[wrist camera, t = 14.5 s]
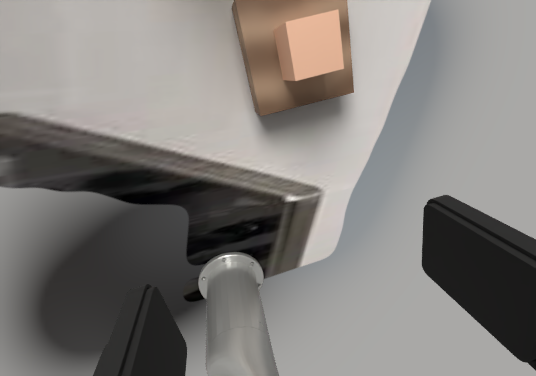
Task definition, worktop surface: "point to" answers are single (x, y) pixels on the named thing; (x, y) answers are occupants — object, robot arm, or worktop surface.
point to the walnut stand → (267, 60)
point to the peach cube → (310, 46)
